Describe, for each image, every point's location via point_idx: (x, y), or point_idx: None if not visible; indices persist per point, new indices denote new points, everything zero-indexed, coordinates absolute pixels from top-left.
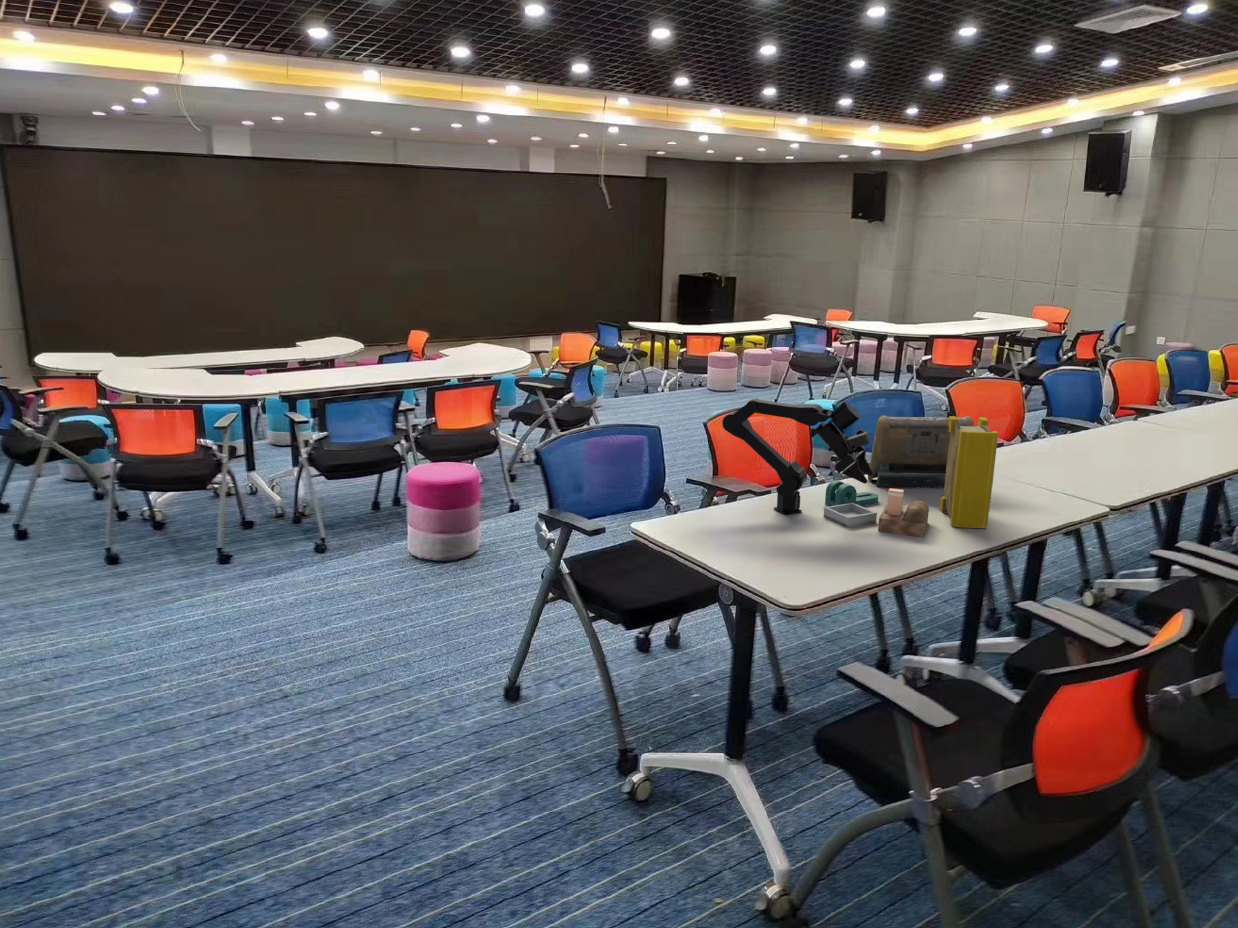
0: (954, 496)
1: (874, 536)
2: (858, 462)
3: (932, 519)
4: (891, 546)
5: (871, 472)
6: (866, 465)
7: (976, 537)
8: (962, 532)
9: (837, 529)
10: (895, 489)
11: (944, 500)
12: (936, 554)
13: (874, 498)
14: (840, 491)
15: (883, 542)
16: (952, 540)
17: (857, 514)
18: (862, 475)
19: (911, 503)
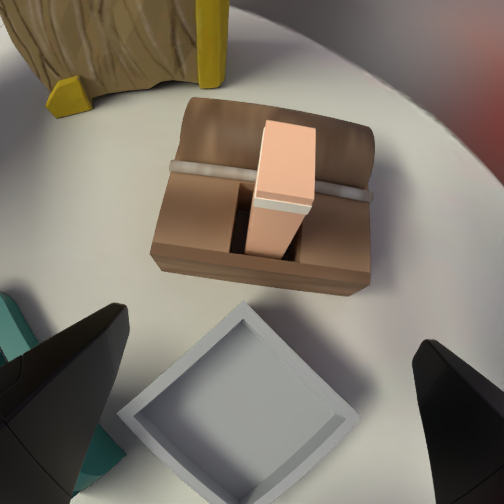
0: (220, 13)
1: (404, 304)
2: (39, 486)
3: (157, 126)
4: (455, 251)
5: (117, 317)
6: (65, 381)
7: (287, 60)
8: (260, 75)
9: (376, 437)
10: (272, 159)
11: (81, 81)
12: (446, 153)
13: (7, 304)
14: (87, 478)
15: (440, 273)
16: (336, 101)
17: (192, 387)
18: (486, 385)
19: (193, 142)
